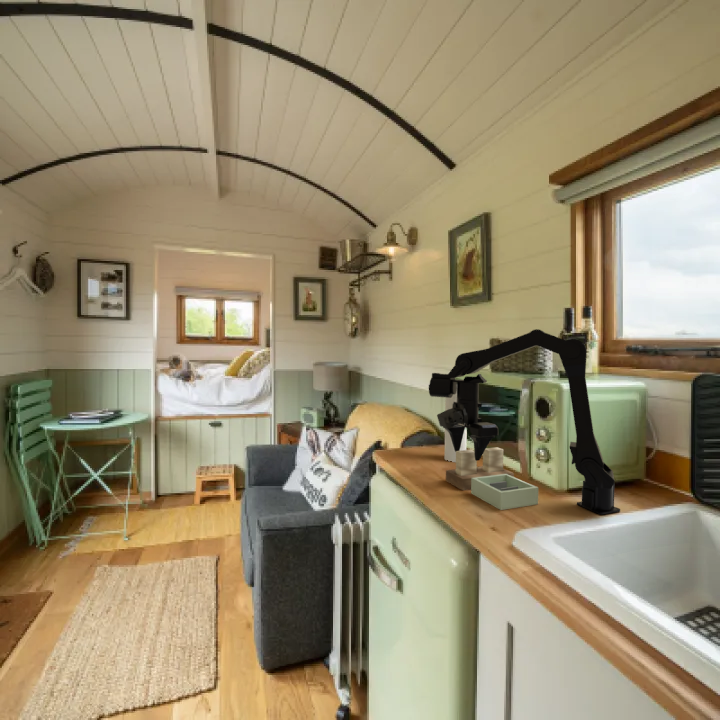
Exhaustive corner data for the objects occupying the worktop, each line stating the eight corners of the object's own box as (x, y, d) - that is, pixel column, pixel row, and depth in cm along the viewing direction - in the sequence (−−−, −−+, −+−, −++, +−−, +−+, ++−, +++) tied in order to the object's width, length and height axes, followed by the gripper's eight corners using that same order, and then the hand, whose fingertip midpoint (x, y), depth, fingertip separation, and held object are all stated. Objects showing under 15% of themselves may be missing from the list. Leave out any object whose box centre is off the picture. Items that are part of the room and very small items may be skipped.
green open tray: (505, 488, 103) (506, 473, 103) (538, 504, 93) (538, 487, 93) (471, 493, 99) (471, 477, 99) (500, 510, 89) (501, 492, 89)
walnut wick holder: (494, 475, 115) (494, 464, 115) (513, 483, 107) (513, 472, 107) (445, 480, 109) (445, 470, 109) (462, 490, 101) (462, 479, 101)
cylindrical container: (464, 456, 134) (465, 384, 134) (467, 462, 127) (469, 386, 127) (443, 456, 135) (444, 384, 135) (445, 461, 128) (447, 386, 127)
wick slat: (496, 478, 112) (497, 447, 112) (502, 481, 109) (503, 449, 109) (482, 480, 110) (483, 448, 110) (488, 483, 108) (488, 450, 107)
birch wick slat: (470, 481, 109) (471, 449, 108) (476, 484, 106) (476, 451, 106) (455, 483, 107) (455, 451, 107) (460, 486, 105) (461, 453, 104)
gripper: (424, 396, 112) (423, 450, 112) (462, 404, 94) (462, 468, 95) (457, 395, 116) (456, 447, 116) (500, 402, 98) (499, 464, 99)
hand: (466, 455), depth 106 cm, fingers open, 9 cm apart
